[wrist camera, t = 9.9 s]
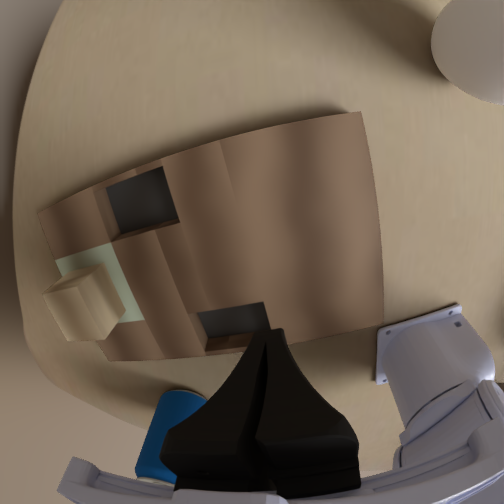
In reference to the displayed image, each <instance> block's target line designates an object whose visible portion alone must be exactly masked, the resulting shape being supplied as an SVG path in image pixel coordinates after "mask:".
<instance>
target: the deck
mask: <svg viewBox="0 0 504 504" xmlns="http://www.w3.org/2000/svg"><path fill="white" fill-rule="evenodd" d="M37 214H38V217H39V220H40V223H41V226H42V228H43V231H44V234H45V237H46V239H47V242H48V244H49V247H50V250H51V252H52V254H53V257H54V259H55V262H56V264H57V266H58V269H59V271H60V273H61V275H62V277H63V276H64V275H65V274H67V273H68V272H70V271H74V270H78V269H81V268H85V267H89V266H93V265H96V264H100V263H105V266H106V268H107V270H108V273H109V275H110V277H111V280H112V282H113V284H114V286H115V288H116V290H117V293H118V295H119V297H120V299H121V301H122V303H123V305H124V307H125V309H126V312H125V313H124V314H123V316H122V317H121V318H120V320H119V321H118V322H117V324H116V325H115V327H114V328H113V329H112V331H111V332H110V334H109V335H108V336H107V338H106V339H105V340H96V341H97V343H98V345H99V346H100V348H101V350H102V351H103V353H104V354H105V356H106V357H107V359H108V361H143V360H162V359H177V358H190V357H201V356H210V355H220V354H228V353H236V352H244V351H245V350H246V348H247V346H248V344H249V342H250V340H251V338H252V336H253V334H254V333H255V332H259V331H265V330H271V329H277V328H282V329H284V332H285V337H286V341H287V345H288V344H294V343H299V342H305V341H310V340H315V339H320V338H325V337H329V336H334V335H338V334H343V333H347V332H351V331H356V330H360V329H364V328H368V327H372V326H376V325H379V324H383V323H384V287H383V261H382V246H381V233H380V223H379V213H378V204H377V197H376V189H375V182H374V176H373V169H372V163H371V158H370V152H369V147H368V142H367V137H366V132H365V127H364V123H363V118H362V114H361V111H360V112H352V113H344V114H337V115H331V116H324V117H318V118H313V119H307V120H301V121H296V122H291V123H286V124H281V125H277V126H272V127H268V128H263V129H259V130H255V131H251V132H247V133H243V134H239V135H235V136H231V137H228V138H224V139H220V140H217V141H213V142H210V143H207V144H203V145H200V146H197V147H194V148H190V149H187V150H184V151H181V152H178V153H175V154H172V155H169V156H166V157H163V158H161V159H158V160H155V161H152V162H150V163H147V164H144V165H142V166H139V167H136V168H134V169H131V170H129V171H126V172H124V173H121V174H119V175H116V176H114V177H112V178H109V179H107V180H105V181H102V182H100V183H98V184H95V185H93V186H91V187H89V188H87V189H84V190H82V191H80V192H78V193H76V194H74V195H72V196H70V197H68V198H66V199H64V200H62V201H60V202H58V203H56V204H54V205H52V206H50V207H48V208H46V209H44V210H42V211H40V212H39V213H37Z"/></svg>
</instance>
